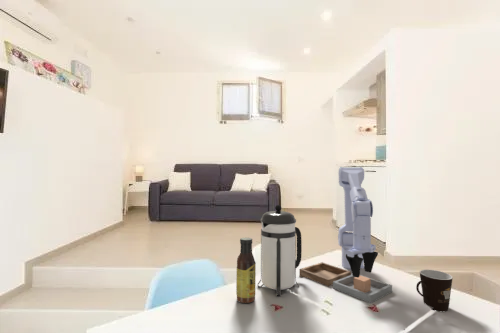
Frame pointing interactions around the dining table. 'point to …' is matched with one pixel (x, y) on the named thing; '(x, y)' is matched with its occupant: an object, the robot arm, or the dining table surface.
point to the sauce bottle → (245, 272)
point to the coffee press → (279, 250)
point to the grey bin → (375, 293)
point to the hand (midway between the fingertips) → (362, 274)
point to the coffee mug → (435, 289)
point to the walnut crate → (324, 273)
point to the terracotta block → (362, 283)
